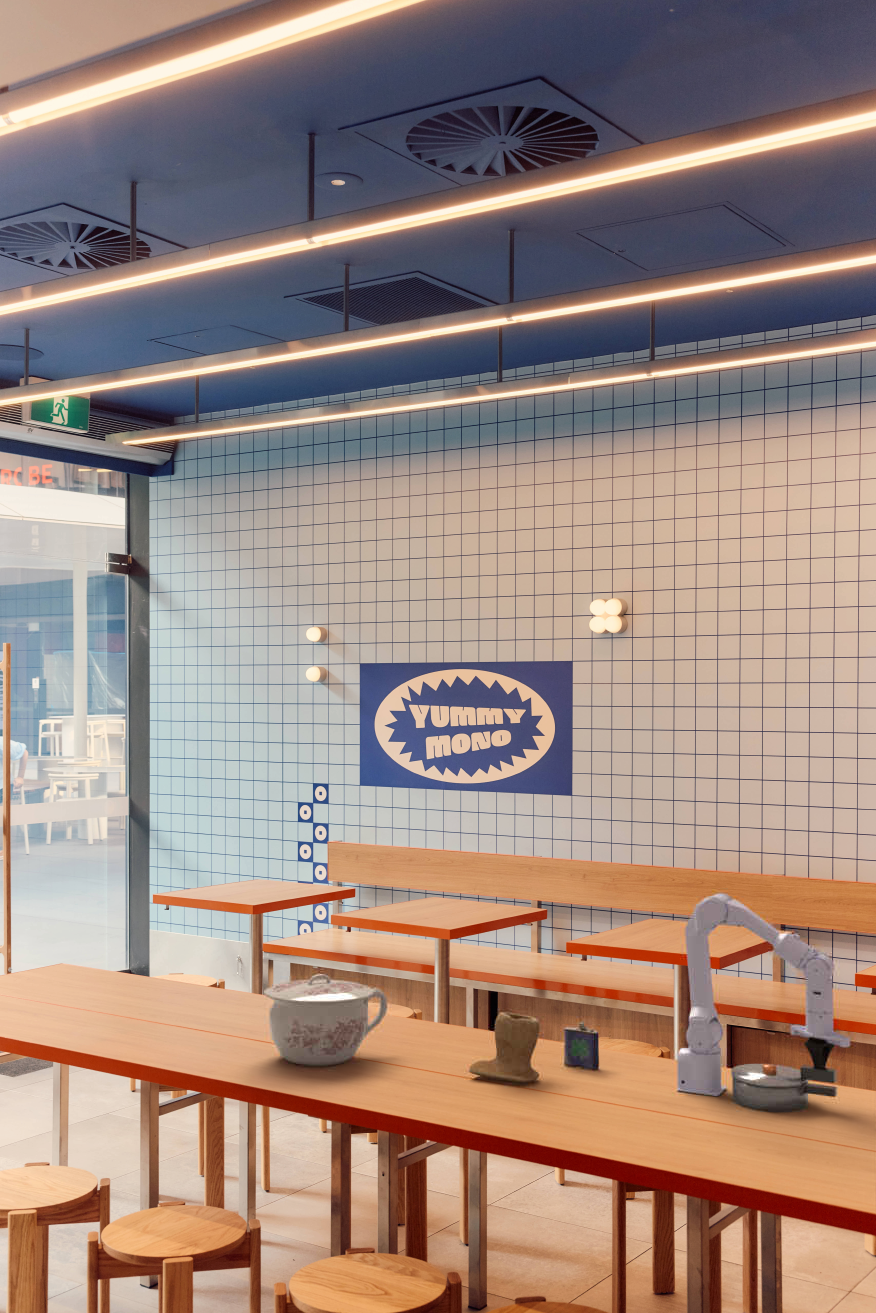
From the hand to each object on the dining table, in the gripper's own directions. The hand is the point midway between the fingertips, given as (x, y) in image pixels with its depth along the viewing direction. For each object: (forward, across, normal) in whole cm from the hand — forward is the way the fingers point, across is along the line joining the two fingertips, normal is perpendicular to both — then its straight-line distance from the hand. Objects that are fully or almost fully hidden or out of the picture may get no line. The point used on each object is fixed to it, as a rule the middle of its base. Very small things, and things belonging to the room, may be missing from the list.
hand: (820, 1074), depth 265 cm
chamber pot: (+7, -91, -75) cm, 118 cm away
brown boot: (+7, -53, -45) cm, 70 cm away
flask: (+7, -53, -23) cm, 58 cm away
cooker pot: (+7, -5, -6) cm, 10 cm away
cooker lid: (+1, -5, -6) cm, 8 cm away
